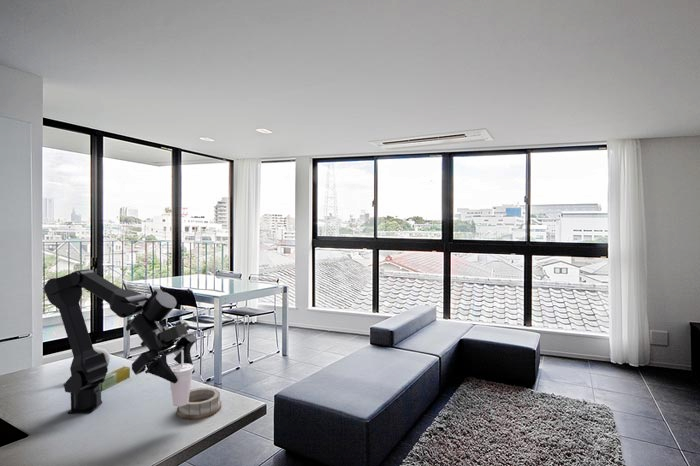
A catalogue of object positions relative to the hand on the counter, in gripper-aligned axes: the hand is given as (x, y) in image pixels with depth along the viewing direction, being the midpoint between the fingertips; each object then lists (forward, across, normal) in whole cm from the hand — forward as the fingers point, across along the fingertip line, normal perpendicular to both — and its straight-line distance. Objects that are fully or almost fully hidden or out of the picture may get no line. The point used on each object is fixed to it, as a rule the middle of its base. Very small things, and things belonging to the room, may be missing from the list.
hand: (185, 377), depth 105 cm
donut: (-28, +19, +48) cm, 59 cm away
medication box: (-20, +16, +40) cm, 47 cm away
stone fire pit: (+8, +9, +11) cm, 17 cm away
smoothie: (+4, 0, +6) cm, 7 cm away
